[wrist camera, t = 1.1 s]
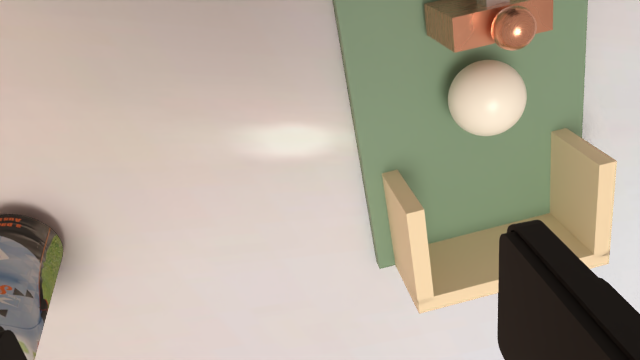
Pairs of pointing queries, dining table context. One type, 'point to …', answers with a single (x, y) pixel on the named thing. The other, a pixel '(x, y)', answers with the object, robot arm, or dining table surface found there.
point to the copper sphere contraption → (487, 22)
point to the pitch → (469, 150)
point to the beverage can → (27, 277)
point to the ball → (487, 97)
